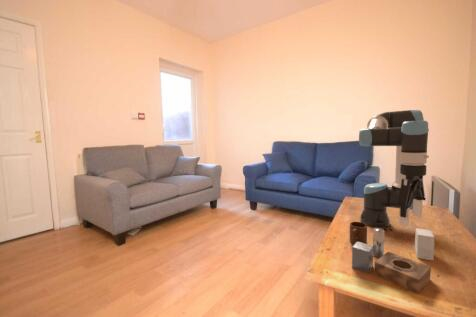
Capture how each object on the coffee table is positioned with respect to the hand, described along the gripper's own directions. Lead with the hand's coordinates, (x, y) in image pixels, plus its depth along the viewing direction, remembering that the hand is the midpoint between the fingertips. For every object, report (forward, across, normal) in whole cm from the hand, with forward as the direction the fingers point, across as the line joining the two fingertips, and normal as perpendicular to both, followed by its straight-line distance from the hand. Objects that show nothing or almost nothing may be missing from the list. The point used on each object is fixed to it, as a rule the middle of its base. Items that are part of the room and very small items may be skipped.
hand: (410, 220), depth 85 cm
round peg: (+21, +6, +13) cm, 26 cm away
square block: (+22, -8, +13) cm, 27 cm away
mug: (+22, +10, +24) cm, 34 cm away
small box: (+22, +21, +1) cm, 30 cm away
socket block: (+22, -3, +1) cm, 22 cm away
